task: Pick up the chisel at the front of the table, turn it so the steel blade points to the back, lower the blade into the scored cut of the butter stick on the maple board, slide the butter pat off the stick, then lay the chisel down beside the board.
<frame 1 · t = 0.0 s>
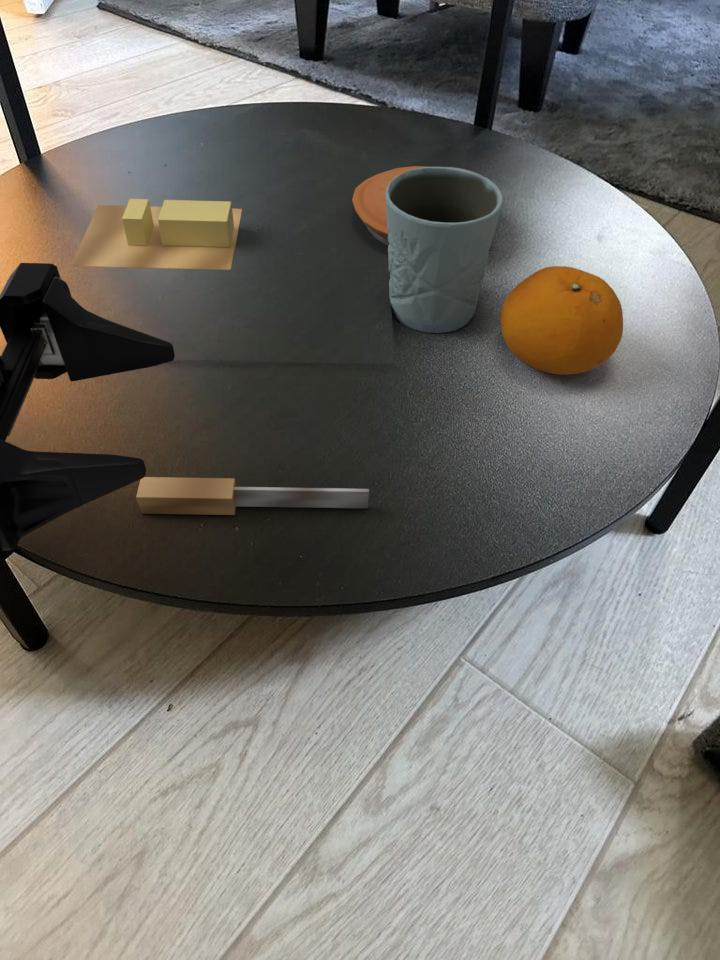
hand: (160, 405, 40), 15 cm above the table, tool horizontal, fingers open, 9 cm apart
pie: (421, 233, 82), on the table
butter pat: (141, 235, 78), point 1 cm above the table, touching cutting board
butter stick: (199, 236, 78), point 1 cm above the table, touching cutting board
cutting board: (163, 245, 79), on the table
fruit: (551, 357, 69), on the table
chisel: (190, 504, 56), on the table
drinking glass: (429, 309, 73), on the table
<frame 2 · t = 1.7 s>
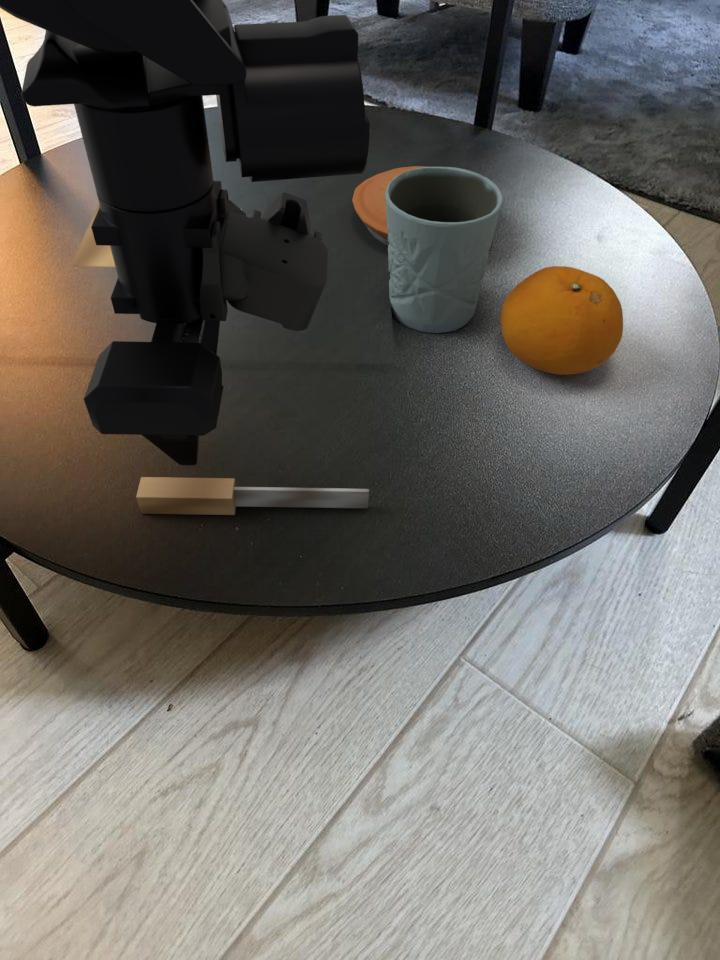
hand: (198, 411, 48), 10 cm above the table, tool pointing down, fingers open, 9 cm apart
nothing on the table moved.
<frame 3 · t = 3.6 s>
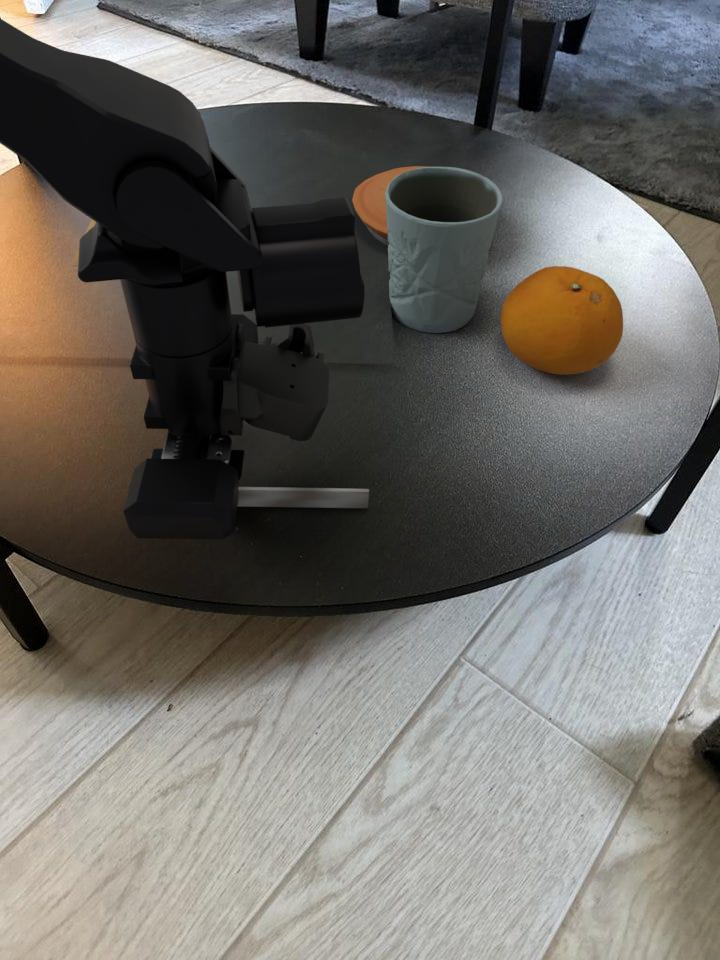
hand: (214, 496, 55), 1 cm above the table, tool pointing down, fingers closed on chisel, 2 cm apart
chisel: (190, 504, 56), on the table, touching gripper
everything else where it was.
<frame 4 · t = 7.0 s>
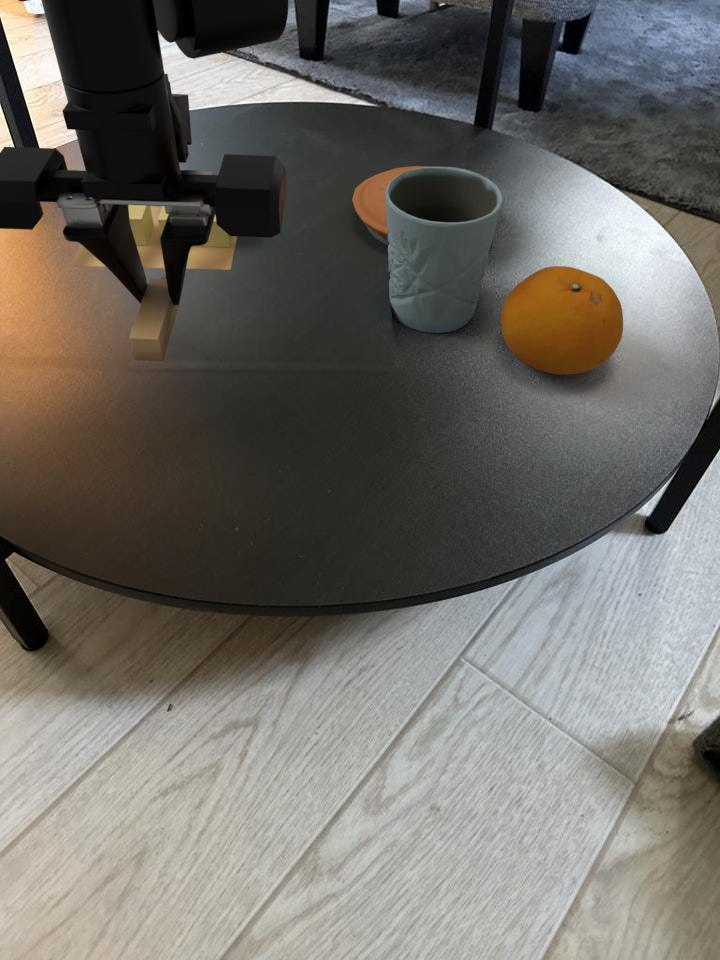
hand: (161, 301, 54), 11 cm above the table, tool pointing down, fingers closed on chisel
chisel: (158, 329, 53), point 10 cm above the table, touching gripper
everything else where it was.
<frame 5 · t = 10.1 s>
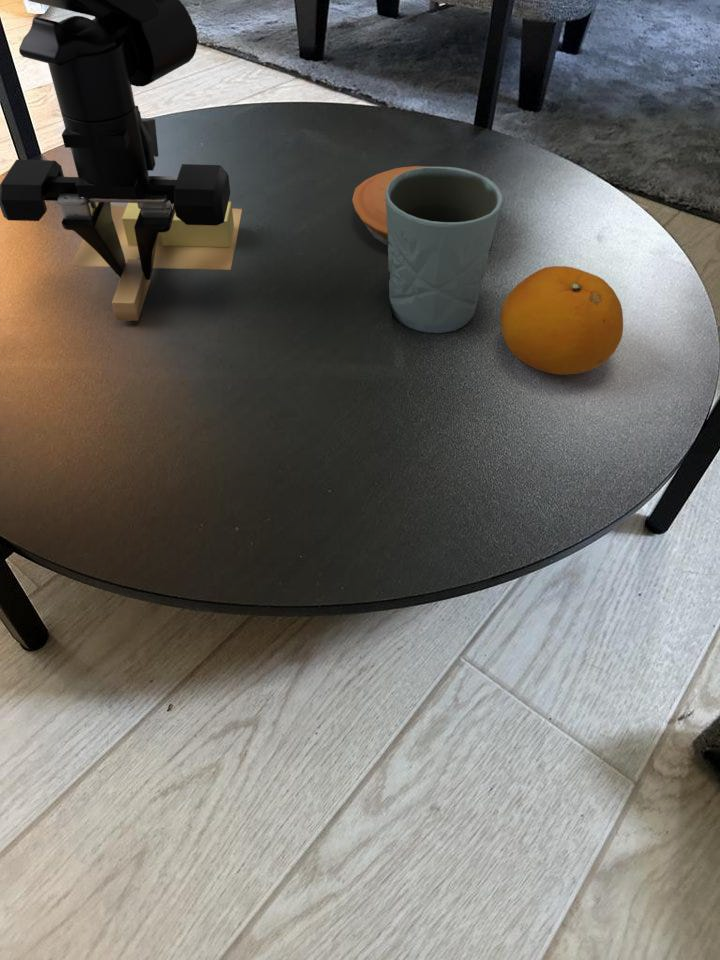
hand: (136, 276, 70), 3 cm above the table, tool pointing down, fingers closed on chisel, 2 cm apart
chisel: (134, 298, 69), point 2 cm above the table, touching gripper
everything else where it was.
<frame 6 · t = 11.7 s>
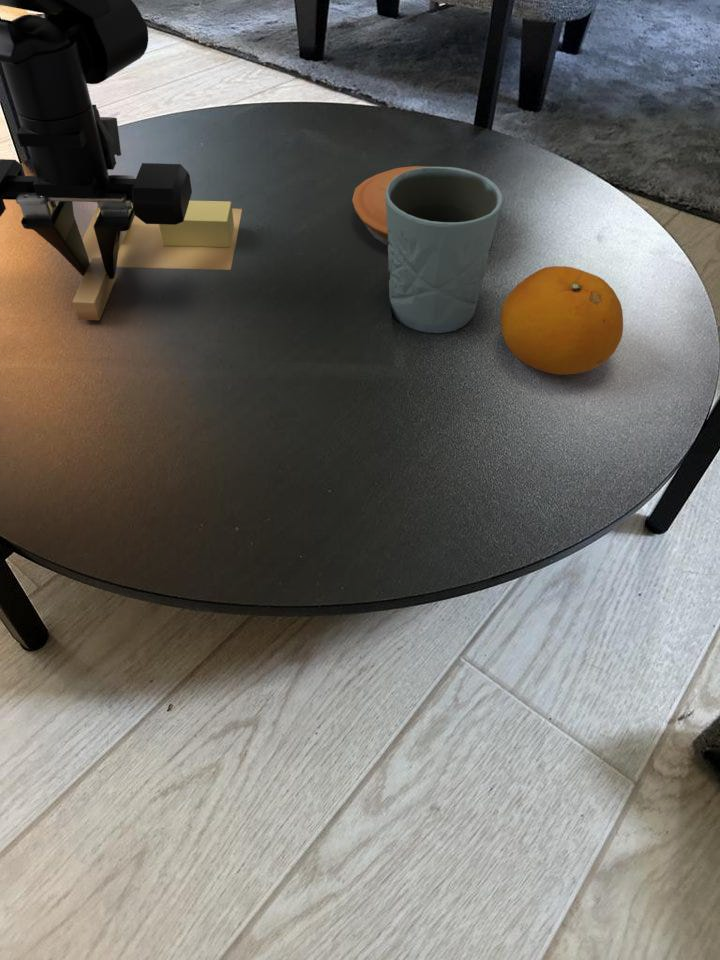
hand: (100, 276, 70), 3 cm above the table, tool pointing down, fingers closed on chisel, 2 cm apart
butter pat: (117, 233, 78), point 1 cm above the table, touching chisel, cutting board
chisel: (98, 297, 69), point 2 cm above the table, touching butter pat, gripper
everything else where it was.
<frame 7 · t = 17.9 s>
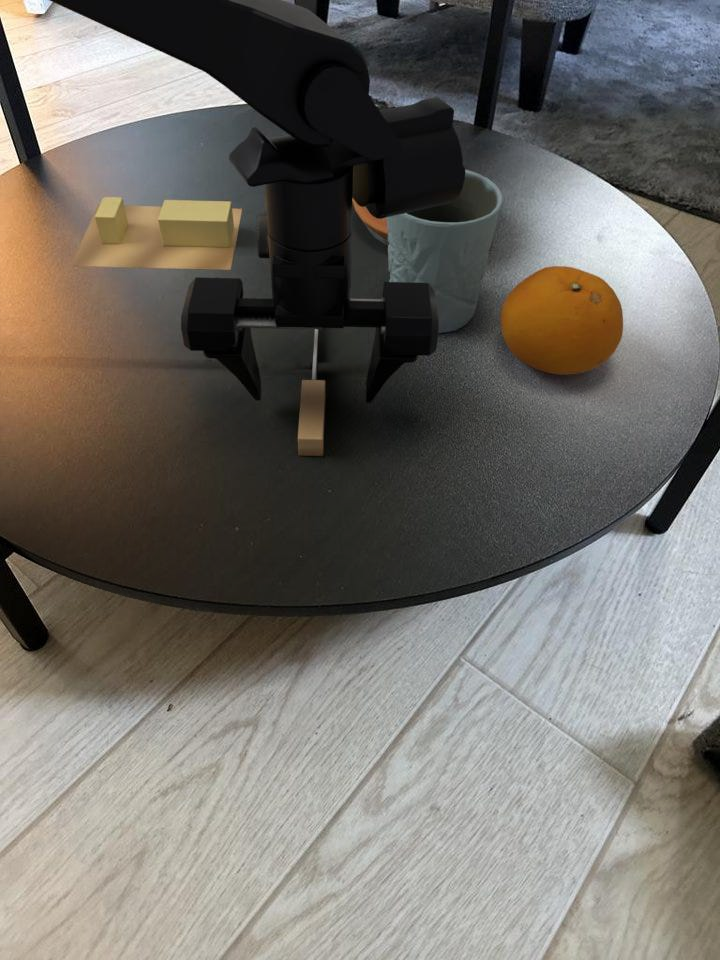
hand: (313, 398, 62), 1 cm above the table, tool pointing down, fingers open, 9 cm apart
butter pat: (115, 233, 78), point 1 cm above the table, touching cutting board
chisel: (312, 425, 61), on the table
everything else where it was.
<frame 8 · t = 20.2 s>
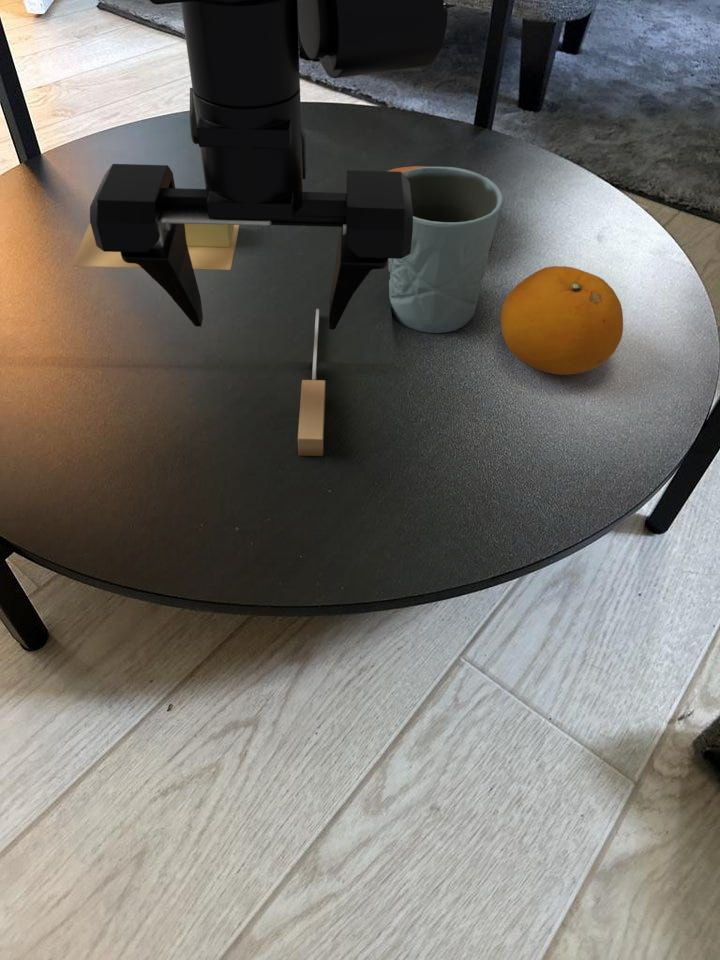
hand: (265, 324, 51), 12 cm above the table, tool pointing down, fingers open, 9 cm apart
nothing on the table moved.
at the end: butter pat moved 2.8 cm from its start; butter stick moved 0.0 cm from its start; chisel inside the target area (0.2 cm from its centre), on the table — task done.
